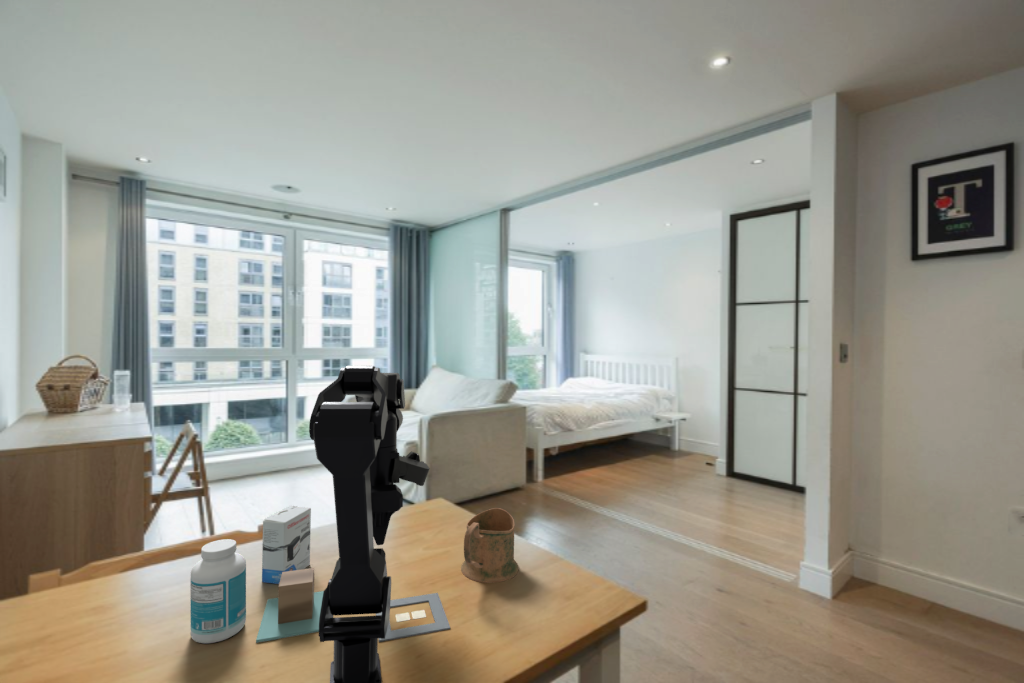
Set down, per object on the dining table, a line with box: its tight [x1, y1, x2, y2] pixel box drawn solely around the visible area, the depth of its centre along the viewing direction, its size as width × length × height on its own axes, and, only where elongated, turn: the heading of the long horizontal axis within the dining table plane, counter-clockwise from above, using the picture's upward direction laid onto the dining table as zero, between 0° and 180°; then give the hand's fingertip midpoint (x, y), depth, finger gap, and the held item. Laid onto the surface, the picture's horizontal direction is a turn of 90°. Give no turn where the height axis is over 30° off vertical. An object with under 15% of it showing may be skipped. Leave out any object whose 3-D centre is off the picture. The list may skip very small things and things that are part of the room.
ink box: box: [261, 505, 312, 585], centre depth 94 cm, size 8×5×12 cm, turn 168°
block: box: [277, 567, 315, 624], centre depth 80 cm, size 5×5×6 cm
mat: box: [255, 590, 324, 644], centre depth 80 cm, size 12×10×1 cm
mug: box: [460, 507, 519, 584], centre depth 94 cm, size 12×18×12 cm, turn 161°
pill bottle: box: [190, 538, 247, 644], centre depth 75 cm, size 8×7×14 cm
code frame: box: [375, 592, 451, 643], centre depth 80 cm, size 11×11×1 cm
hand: (378, 533), depth 84 cm, fingers open, 9 cm apart
